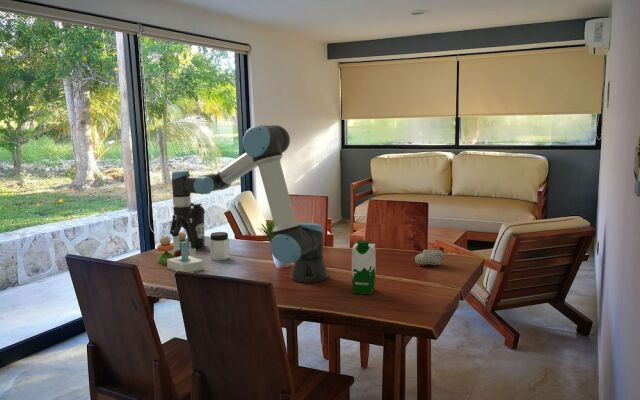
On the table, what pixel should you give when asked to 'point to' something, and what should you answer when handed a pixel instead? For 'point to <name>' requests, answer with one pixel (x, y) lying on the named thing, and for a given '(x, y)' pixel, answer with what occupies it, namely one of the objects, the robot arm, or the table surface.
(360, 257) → the milk carton
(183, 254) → the peg
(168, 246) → the colourful stacking toy
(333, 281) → the table surface
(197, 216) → the water bottle
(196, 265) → the socket block
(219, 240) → the jar
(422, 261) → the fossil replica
